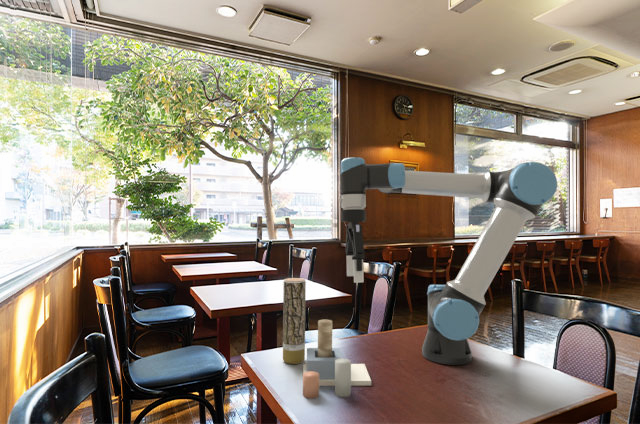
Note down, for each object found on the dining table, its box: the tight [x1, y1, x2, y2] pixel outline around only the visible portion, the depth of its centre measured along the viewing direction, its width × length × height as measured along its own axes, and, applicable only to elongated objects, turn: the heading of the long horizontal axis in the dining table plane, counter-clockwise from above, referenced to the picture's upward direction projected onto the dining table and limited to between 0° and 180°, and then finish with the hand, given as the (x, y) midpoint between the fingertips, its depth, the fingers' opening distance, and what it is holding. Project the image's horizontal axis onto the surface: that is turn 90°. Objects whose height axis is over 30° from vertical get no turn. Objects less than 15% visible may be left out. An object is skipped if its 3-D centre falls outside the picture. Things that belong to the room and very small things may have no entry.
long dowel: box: [317, 319, 333, 358], centre depth 106 cm, size 4×4×14 cm
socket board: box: [302, 347, 372, 387], centre depth 105 cm, size 18×12×6 cm, turn 92°
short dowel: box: [302, 371, 320, 399], centre depth 94 cm, size 4×4×5 cm
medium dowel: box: [334, 357, 352, 398], centre depth 95 cm, size 4×4×8 cm
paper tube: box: [282, 277, 307, 365], centre depth 117 cm, size 7×7×25 cm
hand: (354, 279), depth 115 cm, fingers open, 13 cm apart
